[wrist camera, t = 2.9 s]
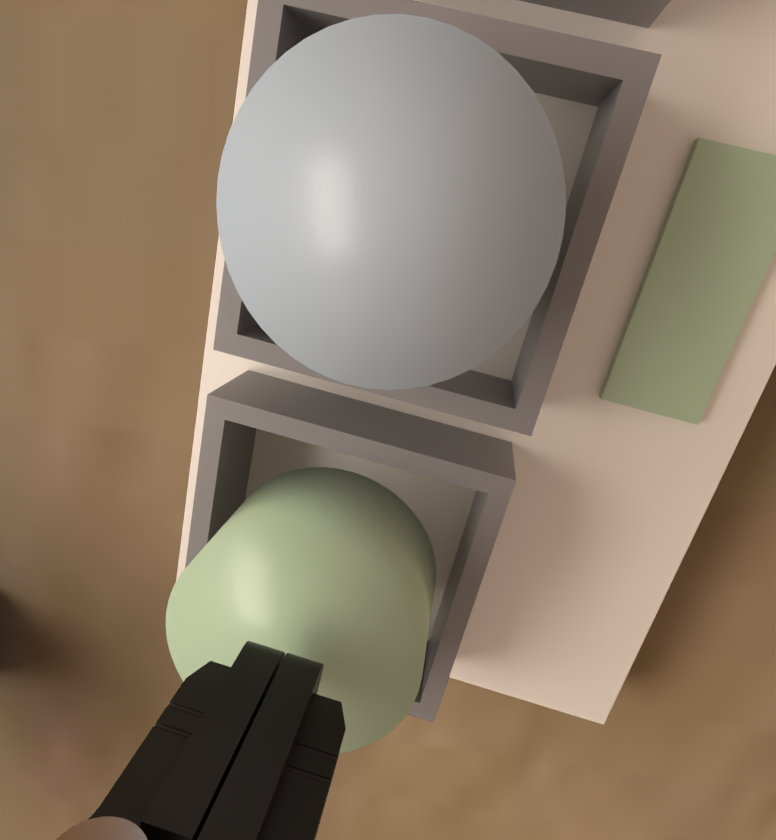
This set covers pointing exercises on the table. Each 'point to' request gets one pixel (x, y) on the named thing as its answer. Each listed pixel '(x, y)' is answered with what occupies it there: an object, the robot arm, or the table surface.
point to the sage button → (316, 592)
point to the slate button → (391, 201)
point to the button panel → (550, 348)
